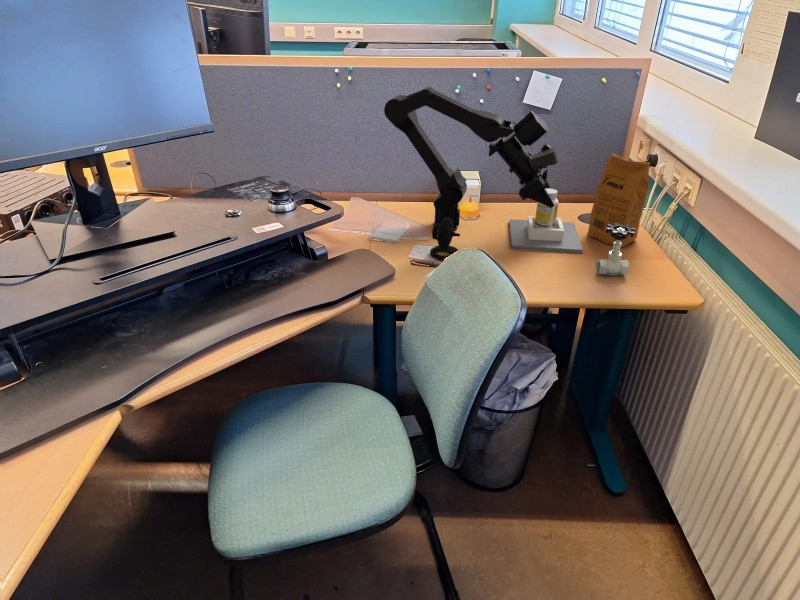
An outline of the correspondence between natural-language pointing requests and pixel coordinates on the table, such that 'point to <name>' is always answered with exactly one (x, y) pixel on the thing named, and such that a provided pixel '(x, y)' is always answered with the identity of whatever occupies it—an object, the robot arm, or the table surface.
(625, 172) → the coffee package
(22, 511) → the table surface
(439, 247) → the webcam
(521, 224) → the socket board
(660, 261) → the table surface
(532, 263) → the table surface
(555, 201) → the supplement bottle
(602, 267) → the valve
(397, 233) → the external hard drive
